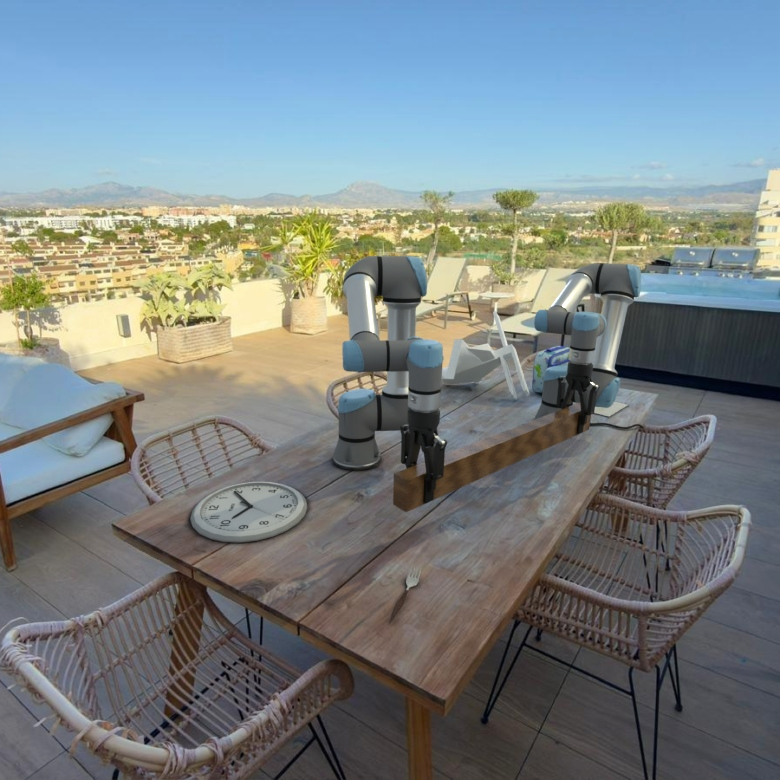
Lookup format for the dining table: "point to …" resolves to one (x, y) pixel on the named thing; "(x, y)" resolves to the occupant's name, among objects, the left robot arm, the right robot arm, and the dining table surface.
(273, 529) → the wall clock
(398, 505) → the beam
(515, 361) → the white plastic object
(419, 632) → the dining table surface
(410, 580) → the fork
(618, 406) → the invitation card
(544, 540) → the dining table surface
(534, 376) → the lunch box
